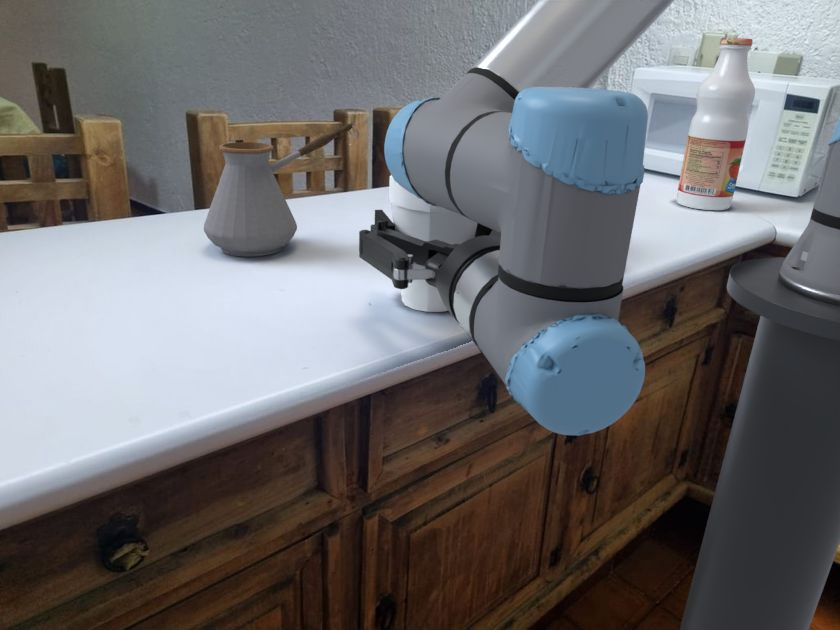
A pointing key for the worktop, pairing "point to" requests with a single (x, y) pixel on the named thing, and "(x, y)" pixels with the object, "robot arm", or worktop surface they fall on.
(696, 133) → the fruit juice
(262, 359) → the worktop surface
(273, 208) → the coffee pot
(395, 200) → the foam cup
